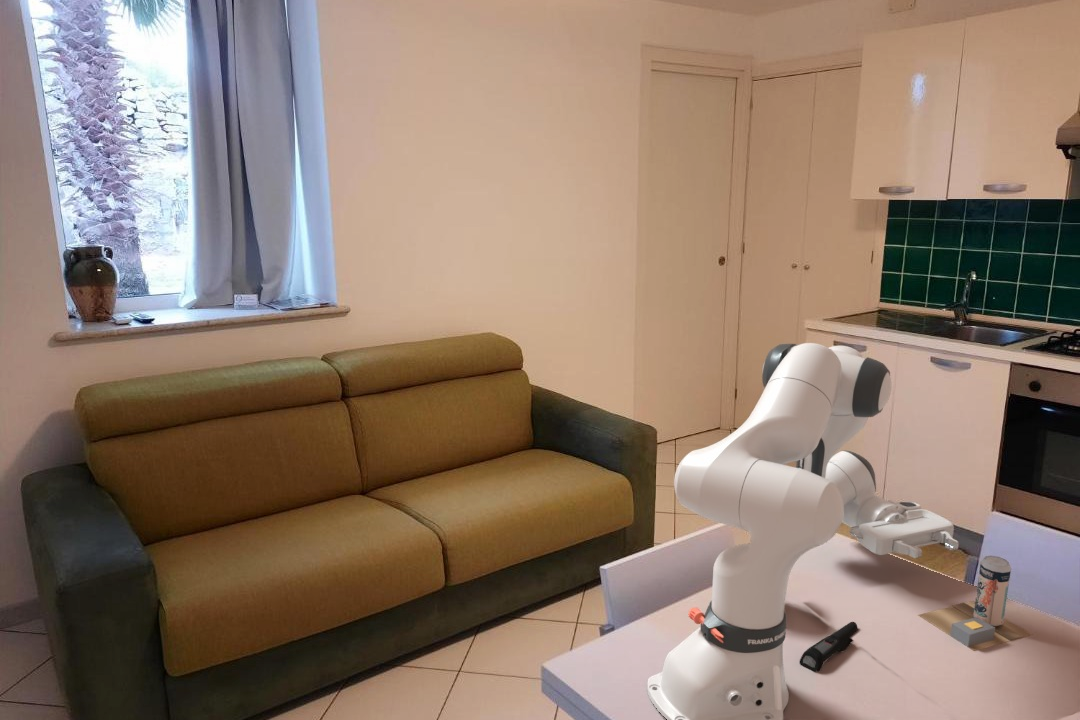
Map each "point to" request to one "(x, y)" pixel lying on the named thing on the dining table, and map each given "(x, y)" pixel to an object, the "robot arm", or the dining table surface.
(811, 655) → the electric trimmer
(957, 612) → the subfloor panel
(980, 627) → the grey box with label
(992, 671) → the dining table surface
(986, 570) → the beer can
